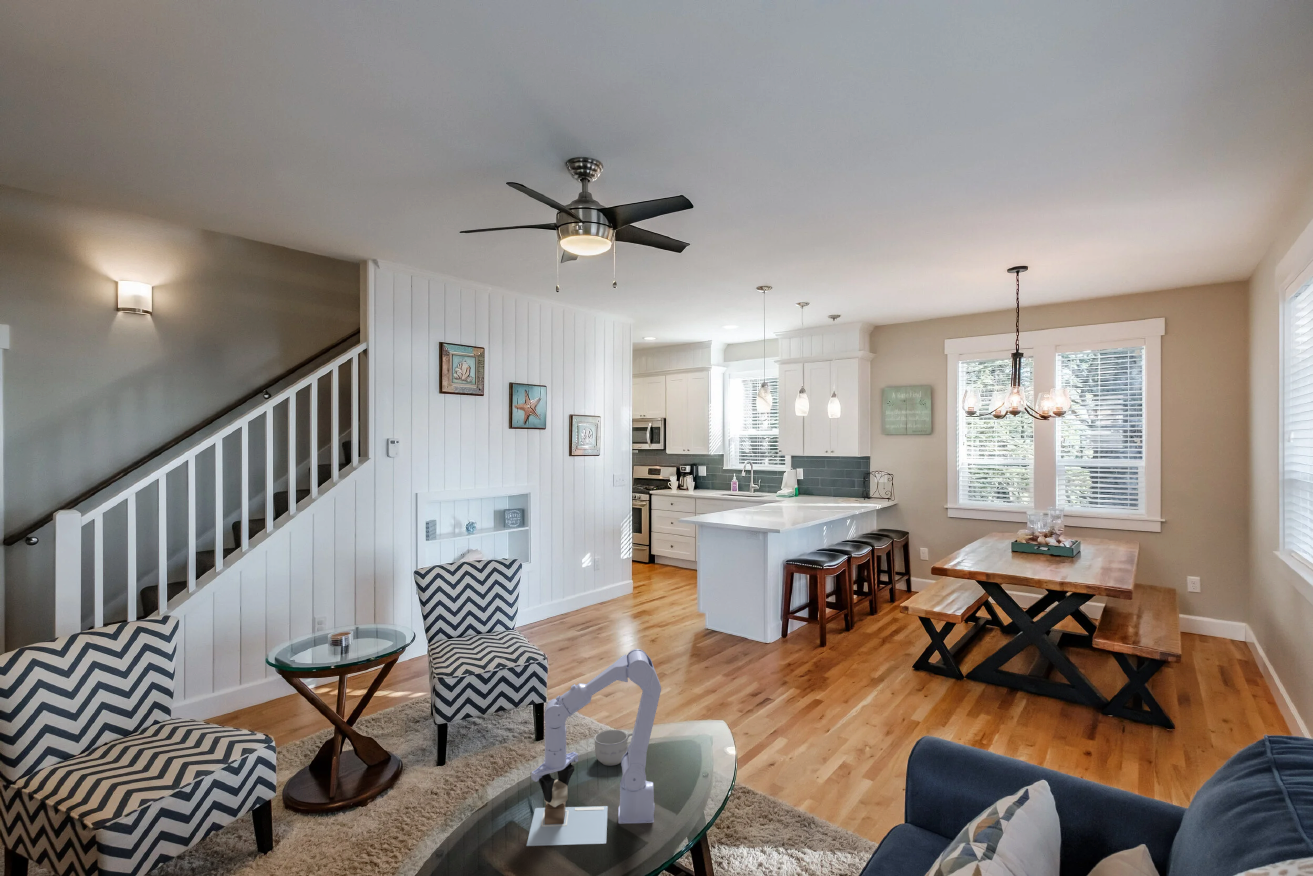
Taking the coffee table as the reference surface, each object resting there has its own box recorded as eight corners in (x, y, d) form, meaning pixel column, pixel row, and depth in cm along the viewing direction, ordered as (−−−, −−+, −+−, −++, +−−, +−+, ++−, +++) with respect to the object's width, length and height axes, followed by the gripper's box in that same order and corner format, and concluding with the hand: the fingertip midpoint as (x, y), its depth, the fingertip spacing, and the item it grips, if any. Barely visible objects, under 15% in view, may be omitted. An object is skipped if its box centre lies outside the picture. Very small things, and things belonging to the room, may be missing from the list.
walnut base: (565, 812, 170) (565, 798, 170) (563, 824, 165) (563, 808, 165) (546, 813, 169) (547, 798, 169) (544, 824, 164) (544, 809, 164)
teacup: (597, 771, 192) (597, 746, 192) (591, 754, 202) (591, 730, 202) (640, 765, 196) (641, 740, 196) (633, 749, 206) (633, 725, 206)
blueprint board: (607, 808, 173) (607, 805, 173) (606, 845, 157) (606, 843, 157) (535, 810, 172) (535, 807, 172) (526, 848, 156) (526, 845, 156)
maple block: (557, 794, 170) (557, 779, 170) (567, 800, 167) (567, 785, 167) (544, 801, 167) (544, 786, 167) (554, 807, 164) (554, 792, 164)
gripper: (566, 732, 175) (566, 780, 175) (524, 751, 164) (524, 802, 164) (583, 740, 170) (583, 790, 170) (540, 760, 160) (540, 813, 160)
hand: (555, 797), depth 167 cm, fingers closed on maple block, 4 cm apart
